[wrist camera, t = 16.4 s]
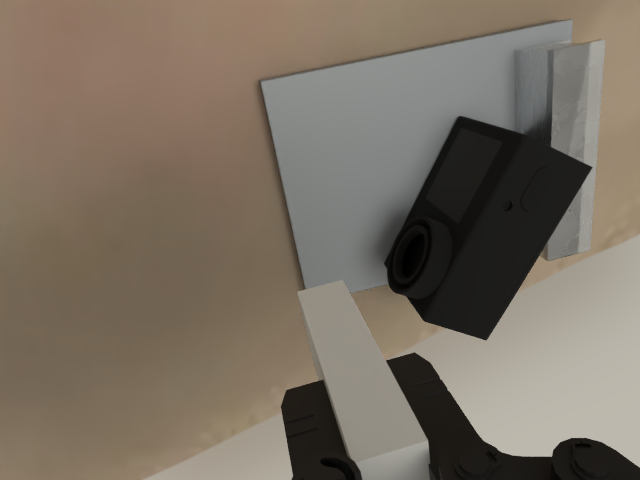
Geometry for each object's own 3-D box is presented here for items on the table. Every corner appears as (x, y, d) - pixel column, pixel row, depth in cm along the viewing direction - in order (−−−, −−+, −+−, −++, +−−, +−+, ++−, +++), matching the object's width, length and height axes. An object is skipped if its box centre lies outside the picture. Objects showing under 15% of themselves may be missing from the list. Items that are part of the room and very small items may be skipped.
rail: (515, 239, 31) (547, 261, 28) (515, 49, 26) (554, 50, 23) (556, 229, 31) (593, 249, 28) (563, 39, 27) (608, 38, 23)
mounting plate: (305, 292, 32) (308, 303, 30) (259, 80, 26) (260, 81, 25) (549, 232, 33) (562, 240, 32) (555, 20, 28) (572, 19, 26)
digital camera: (442, 104, 27) (507, 122, 20) (515, 139, 28) (596, 165, 22) (366, 258, 30) (402, 316, 23) (436, 282, 31) (488, 342, 25)
